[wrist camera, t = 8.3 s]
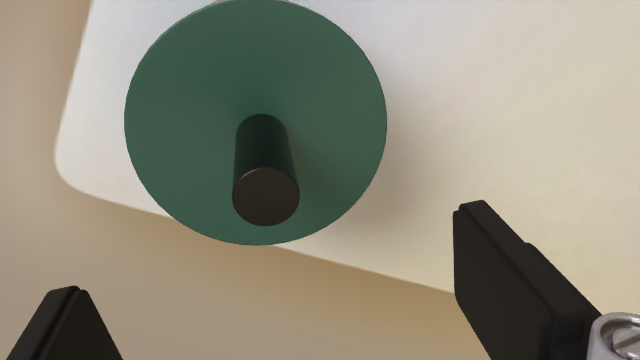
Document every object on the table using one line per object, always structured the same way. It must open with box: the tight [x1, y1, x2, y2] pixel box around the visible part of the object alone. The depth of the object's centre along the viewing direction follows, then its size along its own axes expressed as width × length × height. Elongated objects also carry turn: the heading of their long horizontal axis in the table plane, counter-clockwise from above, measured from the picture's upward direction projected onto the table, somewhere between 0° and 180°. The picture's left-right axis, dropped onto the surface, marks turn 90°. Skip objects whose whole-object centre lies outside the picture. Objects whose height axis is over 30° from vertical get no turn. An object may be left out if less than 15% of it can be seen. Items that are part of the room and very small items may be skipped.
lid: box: [124, 0, 387, 245], centre depth 19 cm, size 12×12×7 cm
